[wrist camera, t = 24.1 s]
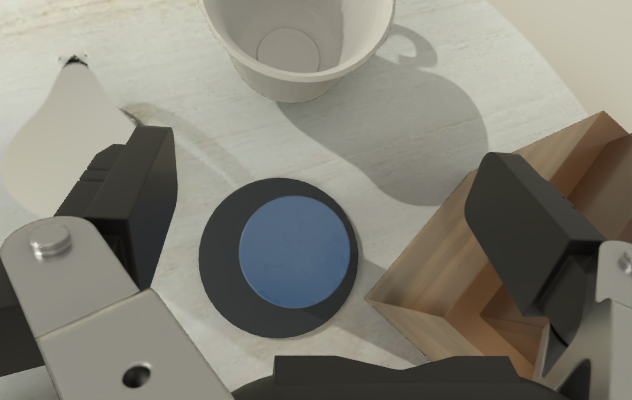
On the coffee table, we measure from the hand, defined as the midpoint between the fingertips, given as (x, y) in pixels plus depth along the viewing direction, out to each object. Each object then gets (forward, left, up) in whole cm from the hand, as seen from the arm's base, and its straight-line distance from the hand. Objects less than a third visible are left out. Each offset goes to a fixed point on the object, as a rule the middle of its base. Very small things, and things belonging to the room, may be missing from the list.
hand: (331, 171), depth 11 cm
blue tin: (+1, -1, -21) cm, 21 cm away
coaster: (+1, -1, -22) cm, 22 cm away
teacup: (-10, +12, -22) cm, 27 cm away
